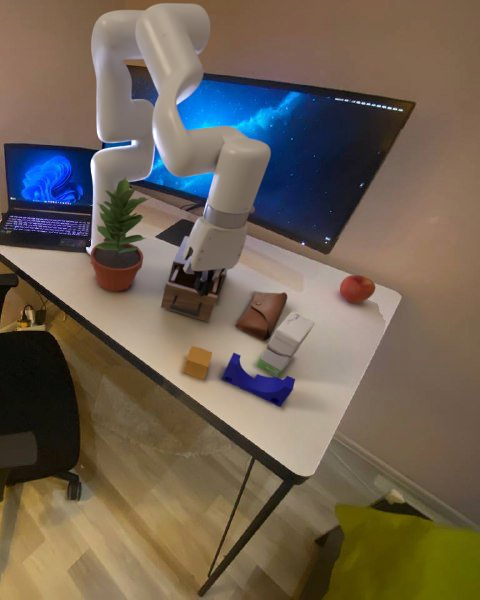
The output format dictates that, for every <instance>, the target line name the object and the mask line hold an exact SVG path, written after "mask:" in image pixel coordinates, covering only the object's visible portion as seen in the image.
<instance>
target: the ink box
mask: <svg viewBox="0 0 480 600" xmlns="http://www.w3.org/2000/svg"><path fill="white" fill-rule="evenodd" d="M315 324H316V322H315V321H313V320H310V319H309V318H307V317H305V316H303V315H301V314H299V313H297V312H296V311H291V312H290V313H289V314H288V315H287V316H286V318H285V319H284V320H283V321H282V322H281V323H280V325H278V327H277V328H276V329H275V331H274V332H273V334H272V335H271V337H270V339H269V341H268V344H267V345H266V347H265V349H264V351H263V353H262V355H261V356H260V358H259V360H258V362H257V364H256V366H257V368H260V369H261V370H263V371H264V372H266V373H268V374H270V375H271V376H272V377H278V378H279V376H280V375H281V373H282V372H283V371H284V370H285V368H286V367H287V365H288V364H289V362H290V361H291V360H292V358H293V357H294V356H295V355H296V353H297V351H298V350H299V349H300V347H301V345H302V344H303V343H304V341H305V340H306V338H307V336H308V335H309V333H311V330H312V329H313V327H314V326H315Z"/></svg>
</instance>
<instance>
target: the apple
mask: <svg viewBox="0 0 480 600" xmlns="http://www.w3.org/2000/svg"><path fill="white" fill-rule="evenodd" d="M339 285H340V286H339V293H340V296H341V297H342V298H343V299H345V301H348V302H349V303H351V304H354V303H355V304H356V303H362V302H364V301H366V300H368V299H370V298H371V297H372V296H373V294H374V293H375V291H376V284H375V282H374V281H373V280H371V278H368V277H366V276H363V275H360V274H351V275H348V276H346V277H345V278H344V279H342V281H341V283H340V284H339Z"/></svg>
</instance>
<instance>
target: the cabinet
mask: <svg viewBox="0 0 480 600" xmlns="http://www.w3.org/2000/svg"><path fill="white" fill-rule="evenodd" d="M188 239H189V236H187V235H184V237H183V239H182V242H181V244H180V246H179V248H178V250H177V252H176V255H175V257H174V258H173V260H172V264H171V269H170V273H169V277H168V281H167V282H171V279H172V277H173V274H174V272H175V270H176V268H177V265H179V266H183V267H184V266H185V264H186V262H187V260H184V258H183V255H184V251H185V247H186V244H187V241H188ZM227 274H228V270H225V271H224V272H222V273H221V274H220V275H219V276H220V278H219V282H218V286H217V289H216V293H215V295H217V296H218V298H217V301H218V299H219V297H220V293H221V291H222V289H223V286H224V283H225V280H226V278H227ZM217 301H216V303H217Z"/></svg>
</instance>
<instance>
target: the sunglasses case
mask: <svg viewBox="0 0 480 600" xmlns="http://www.w3.org/2000/svg"><path fill="white" fill-rule="evenodd" d="M287 300H288V294H287V292H286V291H285V292H280V293H279V292H257V291H254V292H253V294H252V296H251V299H250V301H249V302H248V304H247V306H246V308H245V309H244V311H243V313H242V314H241V316H240V317H239V318H238V319H237V321H236V322H235V324H234V326H235V328H237V330H240V331H242V332H243V333H245V334H247V335H249V336H251V337H253V338H255V339H257V340H259V341H261V342H263V341H264V342H265V341H266V342H267V341H270V340H271V338H272V336H273V334H274V332H275V331H274V330H276V329H275V328H276V327H277V324H278V321H279V319H280V317H281V315H282V313H283V311H284V308H285V305H286V303H287Z"/></svg>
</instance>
